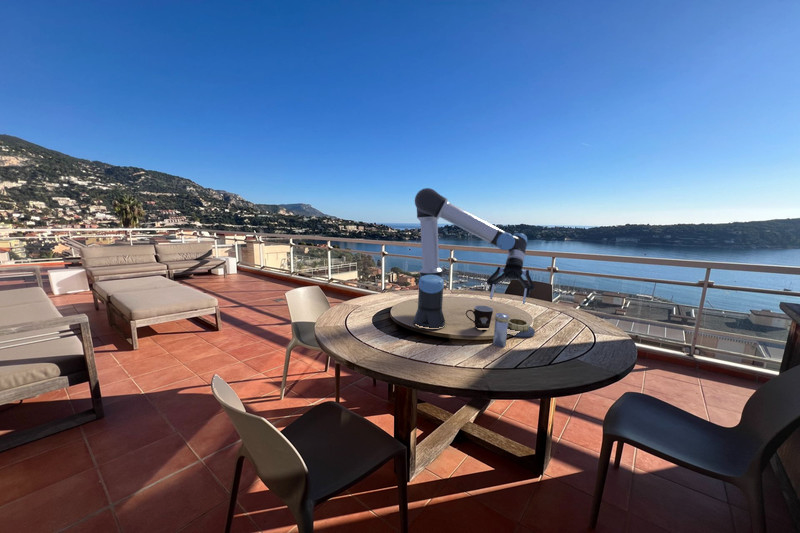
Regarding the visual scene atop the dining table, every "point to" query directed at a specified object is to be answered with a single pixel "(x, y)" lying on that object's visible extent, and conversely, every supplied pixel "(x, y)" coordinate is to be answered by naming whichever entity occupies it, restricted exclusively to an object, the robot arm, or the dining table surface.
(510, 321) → the socket plate
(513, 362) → the dining table surface
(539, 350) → the dining table surface
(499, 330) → the salt shaker
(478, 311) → the coffee mug
